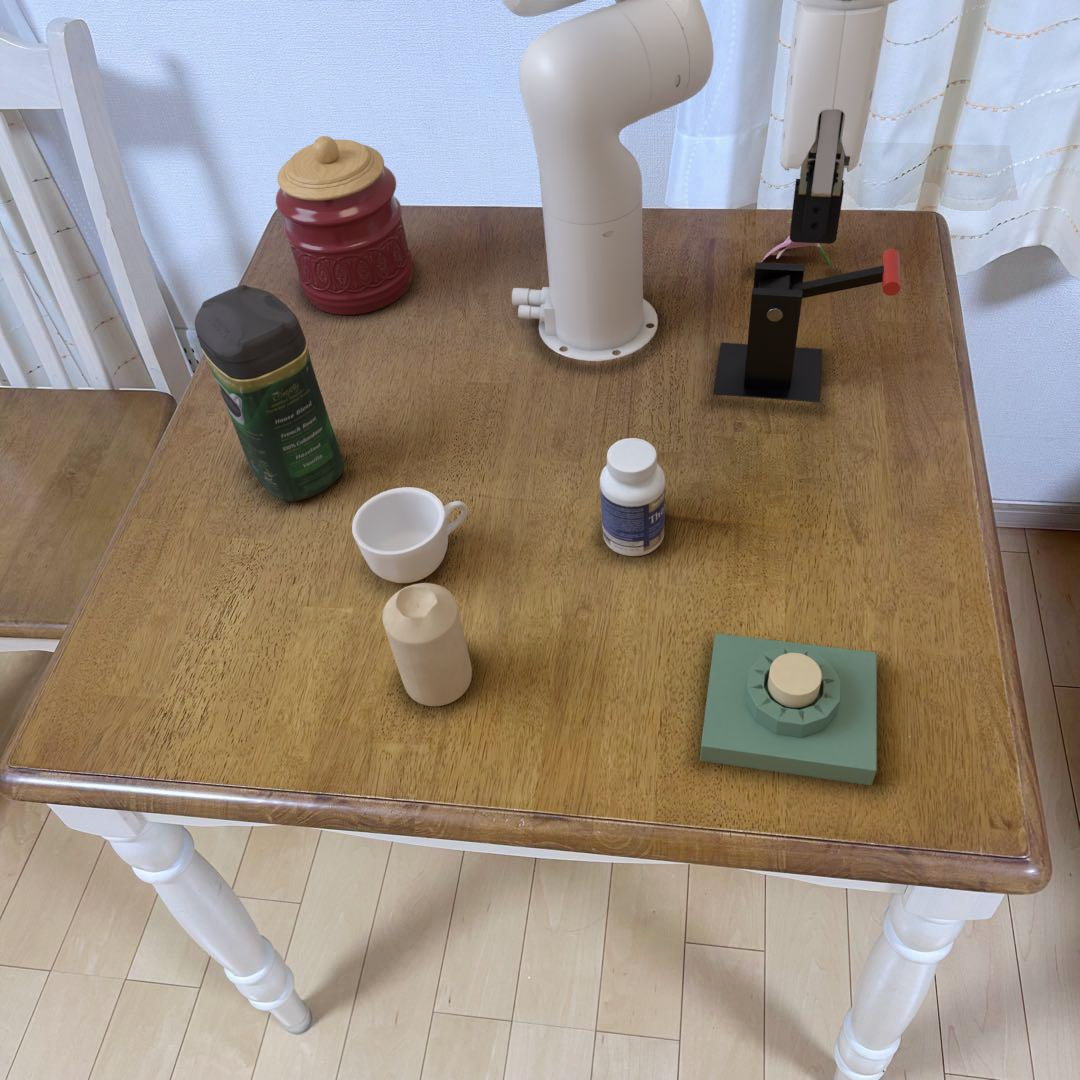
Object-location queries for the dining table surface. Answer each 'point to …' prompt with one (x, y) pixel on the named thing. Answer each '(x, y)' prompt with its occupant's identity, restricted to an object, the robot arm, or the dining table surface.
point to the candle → (428, 643)
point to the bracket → (771, 346)
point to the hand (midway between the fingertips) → (812, 236)
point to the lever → (847, 279)
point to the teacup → (404, 533)
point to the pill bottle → (632, 498)
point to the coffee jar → (270, 391)
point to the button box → (791, 712)
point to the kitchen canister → (344, 226)
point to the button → (794, 680)
